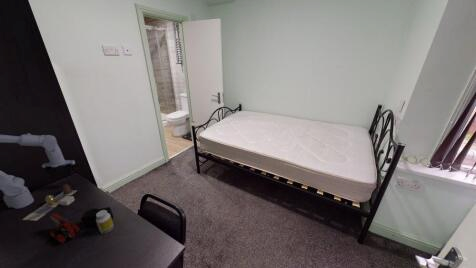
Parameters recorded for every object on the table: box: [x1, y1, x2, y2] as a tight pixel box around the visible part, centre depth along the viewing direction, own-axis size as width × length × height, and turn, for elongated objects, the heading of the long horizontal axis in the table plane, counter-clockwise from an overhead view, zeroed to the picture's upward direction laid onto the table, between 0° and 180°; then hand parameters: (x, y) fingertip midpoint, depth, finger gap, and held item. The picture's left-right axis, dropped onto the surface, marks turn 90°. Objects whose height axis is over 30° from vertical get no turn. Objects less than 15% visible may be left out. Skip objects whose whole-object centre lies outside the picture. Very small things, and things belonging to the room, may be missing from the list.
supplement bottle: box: [96, 210, 115, 235], centre depth 81 cm, size 5×5×10 cm
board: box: [21, 189, 78, 222], centre depth 96 cm, size 8×22×1 cm, turn 176°
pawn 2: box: [61, 184, 73, 195], centre depth 102 cm, size 4×4×6 cm
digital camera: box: [80, 206, 114, 230], centre depth 85 cm, size 10×5×7 cm, turn 106°
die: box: [59, 195, 76, 206], centre depth 96 cm, size 4×4×4 cm
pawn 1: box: [44, 194, 57, 207], centre depth 94 cm, size 4×4×6 cm
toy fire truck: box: [49, 212, 81, 244], centre depth 78 cm, size 7×12×10 cm, turn 67°
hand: (64, 175), depth 104 cm, fingers open, 7 cm apart
